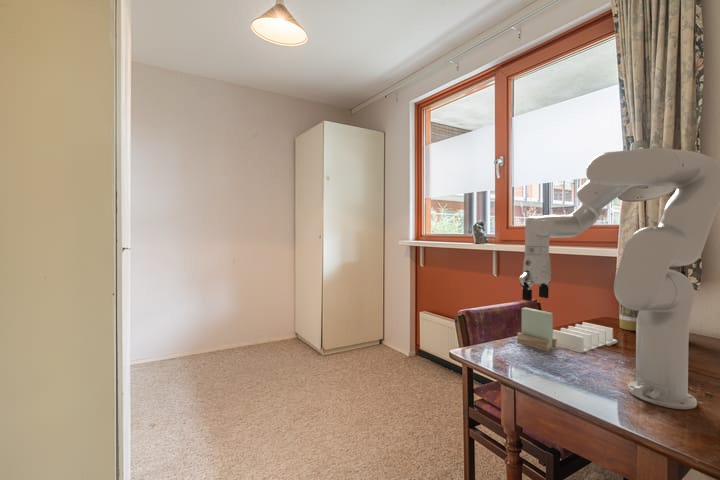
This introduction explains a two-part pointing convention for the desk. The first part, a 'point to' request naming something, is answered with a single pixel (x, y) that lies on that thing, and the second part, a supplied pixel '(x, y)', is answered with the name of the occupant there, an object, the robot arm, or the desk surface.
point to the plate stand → (536, 341)
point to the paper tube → (628, 318)
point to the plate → (538, 324)
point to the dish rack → (584, 337)
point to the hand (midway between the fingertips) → (535, 298)
